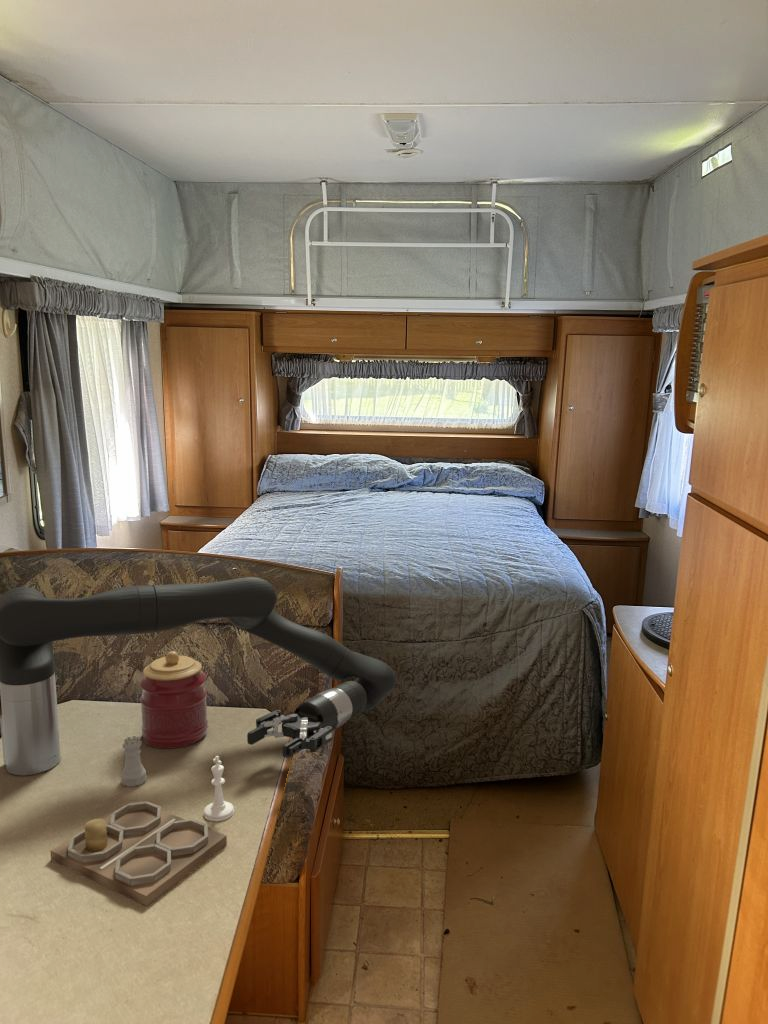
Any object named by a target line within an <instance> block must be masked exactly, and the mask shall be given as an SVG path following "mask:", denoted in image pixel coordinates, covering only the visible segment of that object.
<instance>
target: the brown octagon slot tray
mask: <svg viewBox="0 0 768 1024" xmlns="http://www.w3.org/2000/svg"><path fill="white" fill-rule="evenodd" d="M227 837H228V835H227V834H224V833H221V832H218V831H216V830H213V829H212V828H211V829H210V828H208V824H207V823H204V822H202V821H200V820H197V819H194V818H190V819H185V818H183V817H180V816H178V815H175V814H173V813H170V812H167V811H164V810H162V807H161V805H158V804H155V803H152V802H150V801H139V800H135V799H134V800H132V801H131V802H128V803H127V804H124V805H123V806H122V807H120V808H118V809H116V810H115V811H113V812H112V813H110V814H108V815H107V816H105V817H104V818H94V819H91V820H88V821H87V822H86V823H85V824H84V829H83V830H81V831H80V832H78V833H76V834H74V835H73V836H71V837H70V838H69V839H68V840H65V841H63V842H62V843H60V844H59V845H57V846H55V847H54V848H52V849H50V850H49V851H50V861H53V862H55V863H57V864H59V865H61V866H63V867H65V868H67V869H69V870H71V871H73V872H76V873H78V874H80V875H82V876H84V877H86V878H88V879H90V880H92V881H94V882H96V883H99V884H100V885H103V886H105V887H106V888H109V889H110V890H113V891H114V892H118V893H119V894H120V895H123V896H125V897H127V898H129V899H131V900H133V901H135V902H137V903H140V904H142V905H144V906H146V907H147V906H149V905H150V904H151V903H153V902H154V901H156V899H158V898H160V897H161V896H162V895H163V894H165V893H166V892H167V891H168V890H170V889H172V887H173V886H175V885H176V884H177V883H179V882H180V881H181V880H182V879H184V878H185V877H186V876H187V875H189V874H190V873H192V872H193V871H194V870H195V869H197V868H198V867H199V866H200V865H202V864H204V863H205V862H206V861H208V859H210V858H211V857H212V856H214V855H215V854H216V853H218V852H219V851H220V850H222V849H223V848H225V846H226V845H227V844H228V843H227V842H228V841H227Z"/></svg>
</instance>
